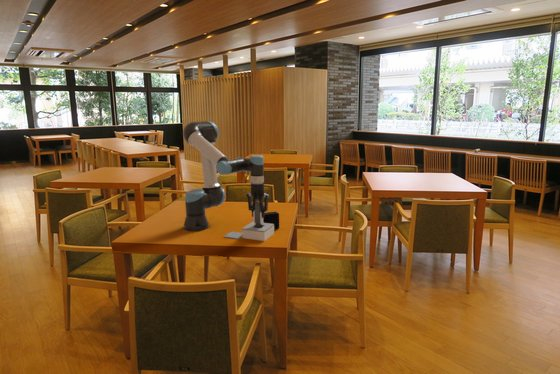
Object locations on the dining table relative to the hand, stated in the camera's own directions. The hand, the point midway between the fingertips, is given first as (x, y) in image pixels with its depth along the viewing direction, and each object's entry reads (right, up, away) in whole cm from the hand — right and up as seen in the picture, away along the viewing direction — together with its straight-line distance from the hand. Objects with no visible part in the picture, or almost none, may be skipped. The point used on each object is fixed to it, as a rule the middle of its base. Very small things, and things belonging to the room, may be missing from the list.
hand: (258, 222), depth 222 cm
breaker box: (0, -8, +2) cm, 8 cm away
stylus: (0, -5, +1) cm, 5 cm away
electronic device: (+7, -5, +14) cm, 17 cm away
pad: (-14, -8, +2) cm, 16 cm away
